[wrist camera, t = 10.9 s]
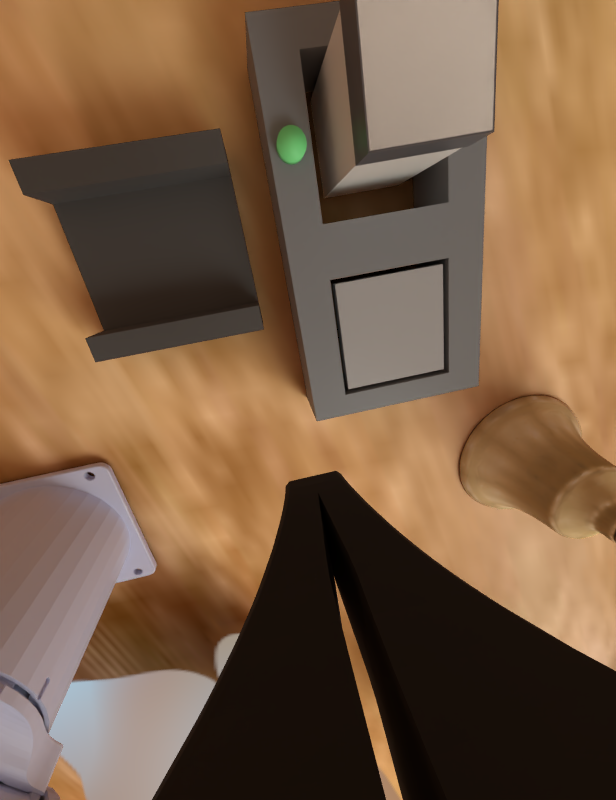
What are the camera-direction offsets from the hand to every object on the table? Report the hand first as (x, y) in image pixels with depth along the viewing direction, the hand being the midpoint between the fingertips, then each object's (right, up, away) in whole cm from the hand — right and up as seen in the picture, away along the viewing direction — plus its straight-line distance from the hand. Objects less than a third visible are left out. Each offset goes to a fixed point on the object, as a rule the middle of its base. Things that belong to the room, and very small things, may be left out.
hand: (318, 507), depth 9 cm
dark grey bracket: (-6, +9, +6) cm, 13 cm away
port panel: (+2, +10, +7) cm, 13 cm away
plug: (+2, +14, +6) cm, 15 cm away
